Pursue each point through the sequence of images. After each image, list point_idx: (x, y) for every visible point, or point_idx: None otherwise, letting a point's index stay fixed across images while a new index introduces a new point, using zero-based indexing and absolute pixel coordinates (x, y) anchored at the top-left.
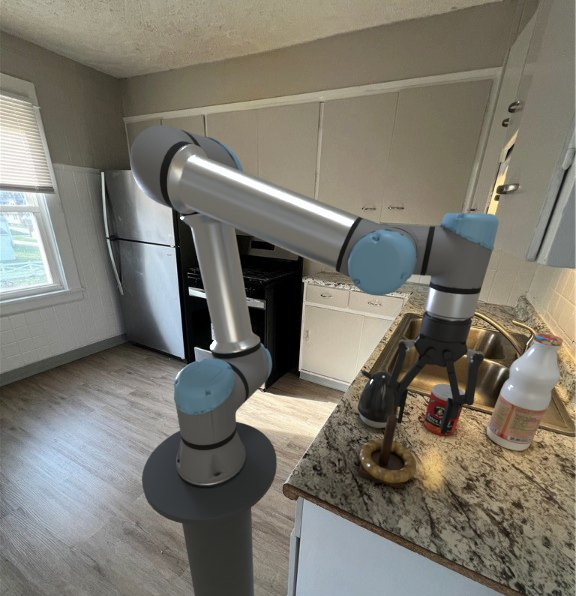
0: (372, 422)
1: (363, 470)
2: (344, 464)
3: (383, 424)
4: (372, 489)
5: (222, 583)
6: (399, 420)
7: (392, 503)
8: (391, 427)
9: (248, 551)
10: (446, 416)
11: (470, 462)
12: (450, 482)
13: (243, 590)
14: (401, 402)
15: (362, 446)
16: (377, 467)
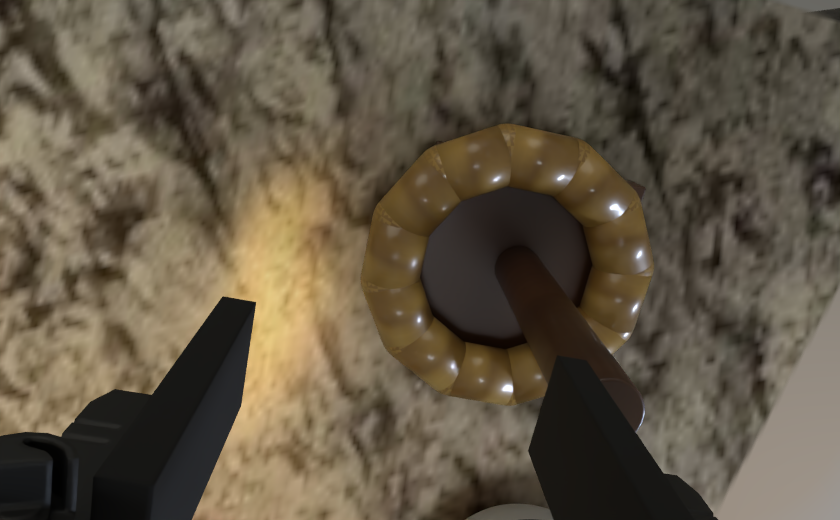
0: (551, 518)
1: None
2: (691, 237)
3: (492, 517)
4: (575, 110)
5: (825, 13)
6: (583, 371)
7: (491, 46)
8: (594, 350)
9: None
10: (196, 390)
11: (83, 381)
12: (199, 235)
13: None
14: (673, 493)
15: (634, 326)
16: (584, 178)
